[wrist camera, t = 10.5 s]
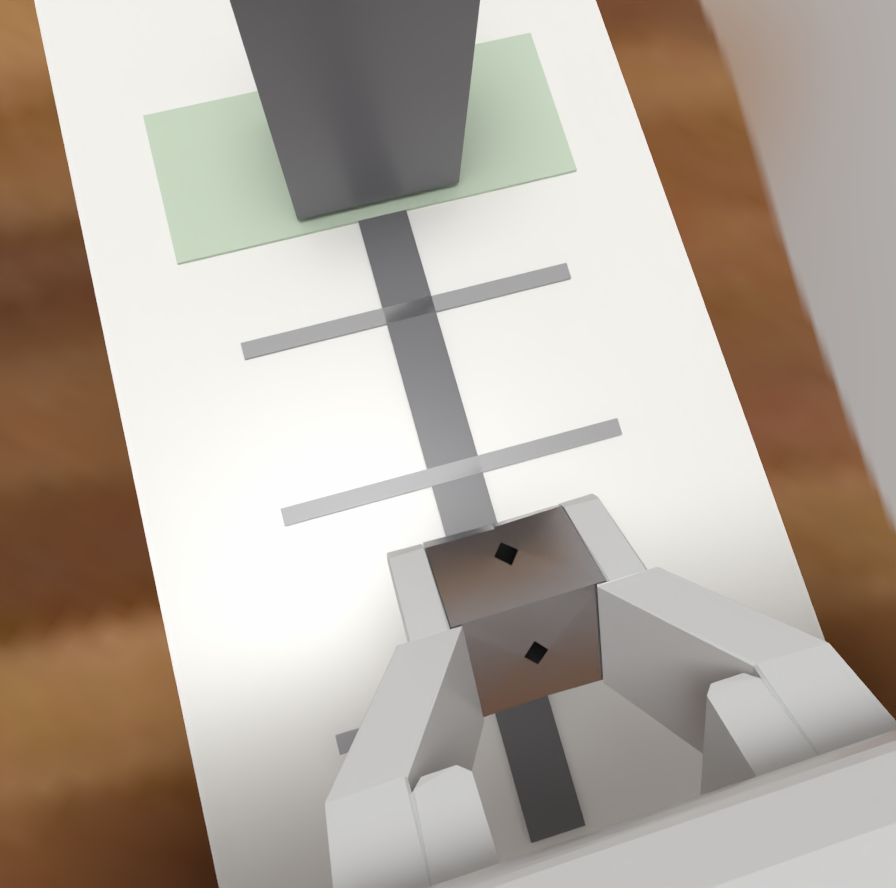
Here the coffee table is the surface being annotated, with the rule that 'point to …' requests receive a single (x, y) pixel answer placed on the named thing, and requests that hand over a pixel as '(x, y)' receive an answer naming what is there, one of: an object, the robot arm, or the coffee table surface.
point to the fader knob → (361, 94)
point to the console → (396, 404)
